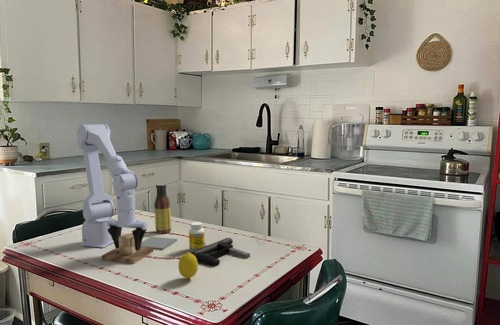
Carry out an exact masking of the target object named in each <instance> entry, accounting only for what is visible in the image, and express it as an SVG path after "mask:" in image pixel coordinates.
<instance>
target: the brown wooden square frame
mask: <svg viewBox="0 0 500 325" xmlns="http://www.w3.org/2000/svg"><path fill="white" fill-rule="evenodd" d="M136 251H137V252H135V253H134V254H132V255H124V254H119V248H113V249H112V250H110V251H108V252H106V253H104V254H102V255H101V261H108V262H114V263H122V264H131V265H134V264H136V263H138V262H139V261H141V260H142V259H144V258H145V257H147V256H148V255H151V253H153V252H154V249H153V247H144V246H141V247H140V249H139V250H136Z"/></svg>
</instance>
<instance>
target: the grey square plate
mask: <svg viewBox="0 0 500 325" xmlns="http://www.w3.org/2000/svg"><path fill="white" fill-rule="evenodd" d="M177 241H178V238H172V237H171V238H170V237H161V236H160V237H159V236H149V237H148V238H146V239H145V240H142V242H141V246H144V247H153V250H159V251H163V250H165V249H167V248H168V247H169V246H171V245H172V244H175V243H176V242H177Z"/></svg>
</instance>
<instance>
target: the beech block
mask: <svg viewBox="0 0 500 325" xmlns="http://www.w3.org/2000/svg"><path fill="white" fill-rule="evenodd" d="M135 252H137V251H136V250H135V242H134V236H133V233H123V234H121V236H120V237H119V254H124V255H132V254H134V253H135Z"/></svg>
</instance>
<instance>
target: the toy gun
mask: <svg viewBox="0 0 500 325" xmlns="http://www.w3.org/2000/svg"><path fill="white" fill-rule="evenodd" d="M190 253H191V254H193V255H194V256H195V257H196V259H197V262H200V263H203V264H206V265H207V266H211V267H217V266H219V265H220V263H221V260H220V259H219V258H222V257H223V256H227V255H232V256H237V257H239V258H243V259H249V258H251V253H249V252H247V251H244V250H240V249H238V248H234V245H233V238H231V237H226V238H224V239H220V240H218V241H216V242H213V243H210V244H208V245H205V247H202V248H200V249H197V250H194V251H190Z"/></svg>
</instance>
